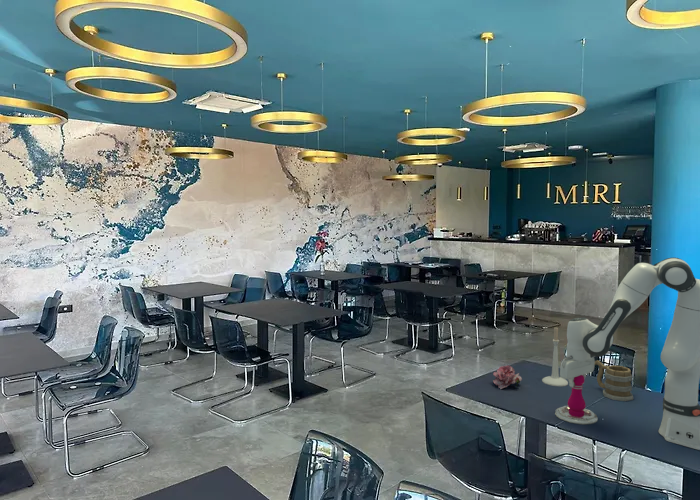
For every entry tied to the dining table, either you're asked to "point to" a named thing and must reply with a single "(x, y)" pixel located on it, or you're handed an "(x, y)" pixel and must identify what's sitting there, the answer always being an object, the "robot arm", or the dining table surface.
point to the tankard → (615, 382)
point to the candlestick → (555, 366)
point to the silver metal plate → (586, 419)
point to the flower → (506, 377)
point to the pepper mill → (577, 398)
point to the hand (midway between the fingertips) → (576, 385)
